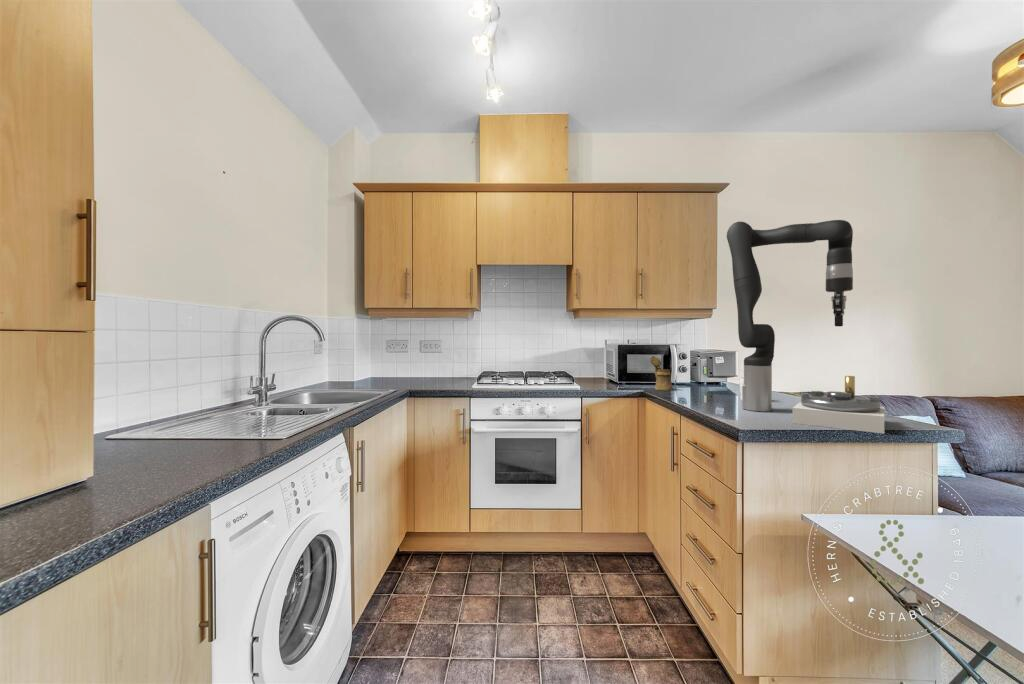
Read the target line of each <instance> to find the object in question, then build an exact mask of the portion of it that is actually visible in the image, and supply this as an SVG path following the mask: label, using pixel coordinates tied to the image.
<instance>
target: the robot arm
mask: <svg viewBox="0 0 1024 684" xmlns="http://www.w3.org/2000/svg"><path fill="white" fill-rule="evenodd" d="M853 235H854V231H853V227H852V225H851V223H850V222H849V221H847V220H845V219H833V220H826V221H821V222H814V223H813V222H810V223H795V224H794V223H793V224H788V225H784V226H780V227H777V228H772V229H754V228H753V227H752V226H751V225H750V224H749V223H747V222H745V221H736V222H734V223H732V224H731V225H730V226H729V227H728V229H727V232H726V240H727V243H728V246H729V247H728V248H729V250H730V251H729V252H730V255H731V263H732V264H731V265H732V268H731V269H732V278H733V287H734V292H735V293H734V294H735V299H736V300H735V301H736V307H737V308H736V309H737V333H738V339H739V343H740V345H741V346H742V347H743V348H745V349H746V348H747V349H755V351H754V353H752V354H751V355H749V356H746V357H745V358H744V359H743V377H744V384H743V385H742V400H741V401H742V404H741V405H742V407H741V408H742V410H748V411H753V412H771V411H773V410H772V409H773V405H772V404H773V403H772V402H773V401H772V399H773V398H772V396H773V395H772V394H773V390H772V389H773V387H772V384H773V380H772V379H773V377H772V376H773V371H772V370H773V368H772V366H773V363H772V362H773V360H774V357H775V343H776V336H775V335H776V334H775V331H774V328H773V327H772V325H770V324H767V323H766V324H765V323H754V316H753V315H754V308H755V306H756V305H757V302H759V299H760V297H761V294H762V289H763V288H762V287H763V285H762V282H761V281H762V280H761V274H760V271H759V268H758V265H757V262H756V260H755V257H754V254H753V248H756V247H761V246H762V247H763V246H769V245H770V246H771V245H780V244H808V243H815V242H817V241H827V242H828V244H827V245H828V246H827V247H828V250H827V253H826V268H825V292H827V293H833V296H831V299H830V300H831V301H830V302H832V303H831V304H832V306H831V307H832V309H833V312H832V313H833V316H834V327H843V326H844V315H845V310H846V301H847V295H844V293H845V292H850V291H853V289H854V268H853V251H852V245H853V237H854V236H853Z"/></svg>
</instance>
